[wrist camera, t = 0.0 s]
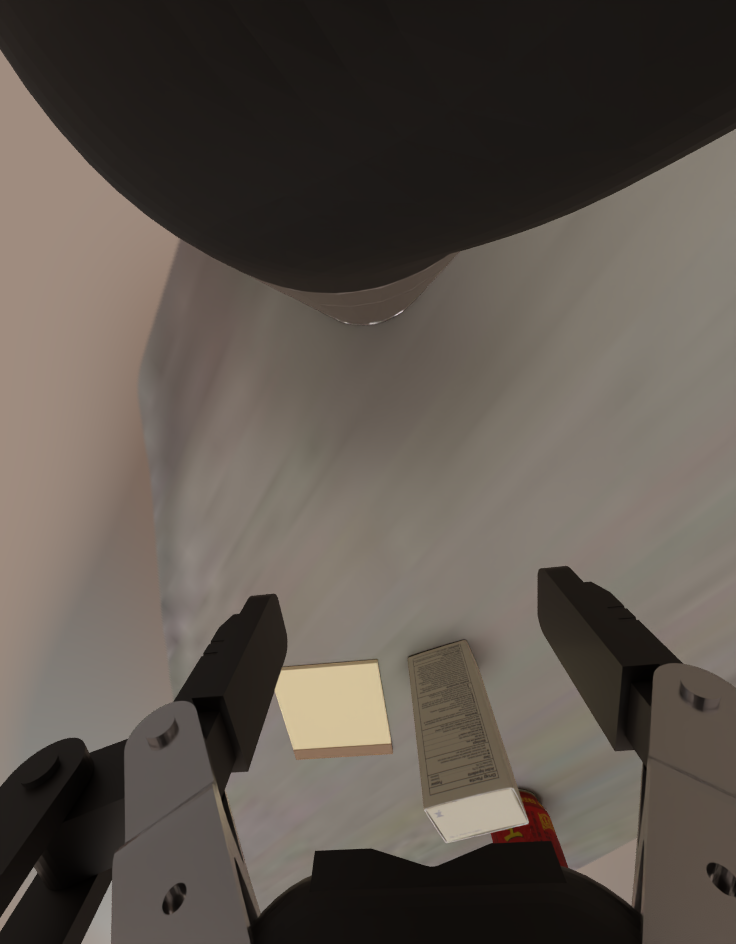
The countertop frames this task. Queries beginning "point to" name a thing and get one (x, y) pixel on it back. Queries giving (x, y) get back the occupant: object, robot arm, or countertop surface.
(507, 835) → the soda can
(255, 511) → the countertop surface
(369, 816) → the countertop surface
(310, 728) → the notepad
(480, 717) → the skincare box
